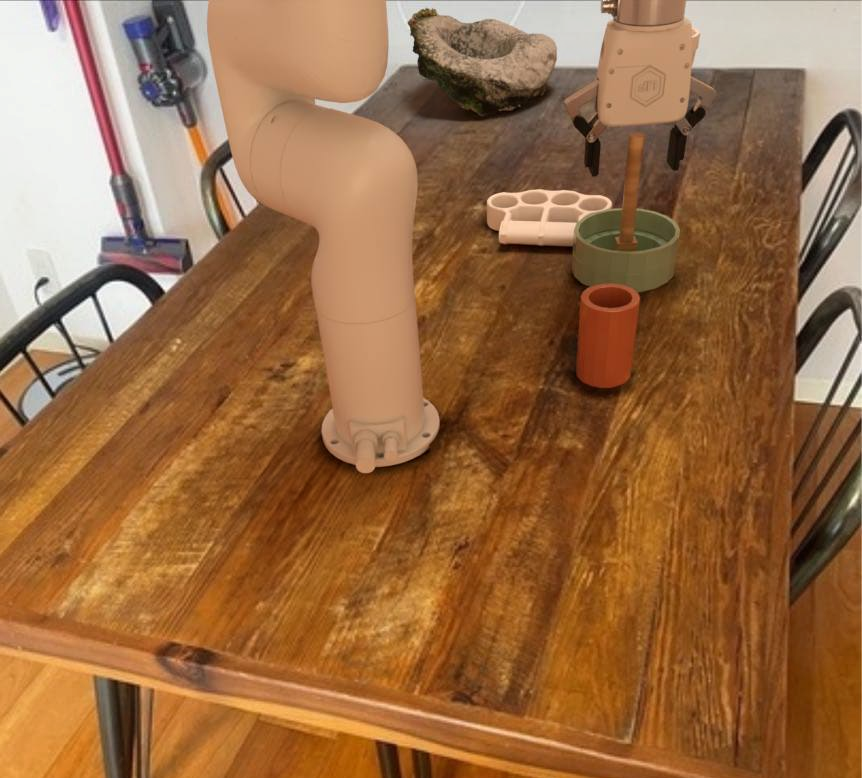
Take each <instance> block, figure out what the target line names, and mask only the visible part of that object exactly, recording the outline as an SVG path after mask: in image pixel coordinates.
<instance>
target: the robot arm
mask: <svg viewBox="0 0 862 778" xmlns="http://www.w3.org/2000/svg"><path fill="white" fill-rule="evenodd" d="M207 3H208V4H207V13H206V16H207V17H206V33H207V43H208V49H209V53H210V60H211V64H212V69H213V75H214V78H215V79H214V80H215V83H216V88H217V92H218V93H217V94H218V97H219V103H220V107H221V112H222V117H223V121H224V125H225V130H226V135H227V140H228V144H229V148H230V149H229V150H230V153H231V156H232V160H233V163H234V167H235V169H236V171H237V175H238V177H239V180H240V181H241V183H242V185H243V186H244V188H245V190H246V191H247V192H248V194H249V195H250V196H251V197H252V198H254V200H256V202H258V203H260V204H261V205H263V206H265V207H266V208H269V209H271V210H273V211H275V212H277V213H280V214H282V215H285V216H288V217H290V218H292V219H295V220H297V221H301V222H302V223H303V224H306V225H308V226H310V227H312V228H314V229H315V230H316V232H317V234H318V238H319V239H318V240H319V241H318V247H317V251H316V254H315V257H314V260H313V262H312V266H311V272H310V274H311V275H310V276H311V277H310V280H311V283H310V284H311V292H312V297H313V305H314V308H315V313H316V320H317V325H318V331H319V336H320V343H321V348H322V349H321V350H322V355H323V361H324V366H325V372H326V378H327V384H328V390H329V397H330V401H331V402H330V403H331V407H332V408H331V409H330V410H329V411H328V412H327V413H326V415H325V416H324V418H323V421H322V423H321V437H322V441H323V444H324V446H325V448H326V449H327V451H328V452H329V453H330V454H331V455H333V456H334V457H335V458H337V459H339V460H340V461H342V462H344V463H347V464H350V465H353V466H355V469H356V470H357V471H358V472H359V473H361V474H370V473H372V472H373V471H374V470H375V469H376V468H382V467H390V466H394V465H400V464H402V463H406V462H408V461H411V460H413V459H415V458H417V457H420V456H422V454H424V453H425V452H427V451H428V450H429V449H430V444H431V443H432V442H433V441H434V440H435V438H436V437H437V436H438V434H439V430H440V426H441V424H440V423H441V420H440V415H439V411H438V410H437V409H436V407H435V405H434V404H432V403H431V401H429V400H428V399H426V398H425V397H424V389H423V377H422V364H421V352H420V351H421V350H420V340H419V327H418V325H419V324H418V317H417V316H418V315H417V314H418V313H417V302H416V293H415V291H416V290H415V282H414V281H415V279H414V262H413V236H414V233H413V232H414V223H415V214H416V206H417V199H418V188H419V183H418V181H419V180H418V179H419V176H418V169H417V164H416V161H415V158H414V155H413V153H412V151H411V149H410V148H409V147H408V145H407V144H406V143H405V141H404V140H403V139H402V138H401V137H400V136H399V135H398V134H397V133H396V132H395V131H393V130H392V129H390V128H389V127H387V126H385V125H384V124H381V123H380V122H377V121H375V120H372V119H370V118H367V117H363V116H360V115H357V114H353V113H349V112H345V111H341V110H338V109H335V108H328V107H325V106H321V105H318V104H316V100H318V101H323V102H328V103H329V102H330V103H338V104H348V103H349V104H350V103H356V102H360V101H363V100H365V99H366V98H368V97H370V96H371V95H373V94H374V93H375V92H376V91H377V90H378V88H379V87H380V85H381V83H382V82H383V80H384V78H385V75H386V72H387V68H388V61H389V44H390V42H389V40H390V39H389V25H388V24H389V23H388V10H387V8H388V7H387V0H208V2H207ZM686 6H687V0H601V1H600V13H601V14H608V15H611V16H612V20H609V21H607V23H606V27H605V30H604V33H603V34H604V35H603V38H602V42H601V48H600V53H599V59H598V63H597V71H596V79H595V80H594V81H592V82H591V83H590V84H587V85H586V86H584V87H583V88H581V89H579V90H578V91H576V92H574V93H573V94H571V95H570V96H568V97H566V98H565V99H564V101H563V104H564V106H565V109H566V111H567V113H568V116H569V118H570V120H571V122H572V124H573V126H574V128H575V129H576V130H577V131H578V132H579V133H580V134H581V135H582V136H583V137H584V138H585V139H584V140H585V141H584V156H583V161H584V163H583V164H584V168H588V171H589V173H590V175H591V177H592V178H594V177H595V178H596V177H597V176H599V174H600V160H601V146H602V143H601V141H600V139H599V137H600V136H601V135H602V133H603V132H604V131H605V130H606V128H607V127H610V128H622V127H635V126H636V127H637V126H648V125H662V124H663V125H664V124H671V123H674V126H672V127H671V129H670V131H669V139H668V145H667V153H666V154H667V155H666V163H667V165H668V166H669V167H670V169H671V170H672V171H679V168H680V163H681V162H680V161H684V159H685V152H686V145H687V141H688V136H689V135H690V134H691V133H692V131H693V129H694V128H695V127H696V126H697V125H698V124H699V123H700V122H701V121H702V120H703V119H704V118H705V116H706V113H707V111H708V110H709V109H710V107H711V105H712V104H713V102H714V100H715V99H716V97H717V91H716V90H715V88H713V87H712V86H710V85H708V84H707V83H705V82H704V81H701V80H700V79H698V78H695V77H694V76H692V69H691V61H692V28H693V27H692V21H691V20H690V19H689V18H687V17H685V14H686ZM690 92H691V93H693V94H694V95H697V96H698V99H697V101H696V103H695V104H694V105H693V106H691V108H690V109H689V110H688V107H689V101H690ZM592 100H593V108H594V111H595V112H594V113H593V114H592V115H591V117H590V118H589V119H588V120H587V119H586V118H585V117H584V116H583V115H582V113H581V111H580V110H581V107H582V106H583V105H585V104H587V103H588V102H590V101H592Z"/></svg>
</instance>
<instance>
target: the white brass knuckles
mask: <svg viewBox="0 0 862 778" xmlns="http://www.w3.org/2000/svg"><path fill="white" fill-rule="evenodd" d="M607 209H613V201H612V200H611V199H610V198H609V197H607V196H604V195H602V194H601V195H600V194H595V195H593V194H584V193H580V192H577V191H573V190H567V189H561V190H547V189H543V188H542V189H541V188H540V189H539V188H538V189H528V190H524V191H520V192H505V191H503V192H498V193H495V194H492V195H490V196H489V197H488V198H487V200H486V224H487V226H488V227H489V228H490V229H492V231H493V230H494V231H496V232H498V243H499V244H502V245H509V244H510V245H529V246H530V245H531V246H539V247H544V246H548V247H549V246H550V247H572V248H573V237H574V229H575V226H576V223H577V222H579V221H580V220H581V219H582V218H583V217H585V216H587V215H590V214H592V213H594V212H598V211H602V210H607Z"/></svg>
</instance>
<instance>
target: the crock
mask: <svg viewBox="0 0 862 778" xmlns="http://www.w3.org/2000/svg"><path fill="white" fill-rule="evenodd" d="M640 303H641V296H640V294H639V292H636V291H635V290H634V289H632V288H631V287H628V286H625V285H622V284H614V283H607V284H598V285H595V286H591V287H590V286H588V287H587V288H586V289H585V290H583V291H582V293H581V296H580V305H579V319H578V331H577V333H578V335H577V347H576V361H575V362H576V363H575V373H576V377H577V378H578V379H579V380H580V381H581V382H582V383H583V384H586V385H588V386H591V387H595V388H602V389H604V388H605V389H606V388H607V389H609V388H614V387H618V386H619V387H620V386H621V385H623V384H625V383H626V382H628V381H629V379H630V378H631V374H632V371H633V370H632V369H633V362H634V355H635V354H634V353H635V345H636V336H637V329H638V320H639V312H640Z"/></svg>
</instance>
